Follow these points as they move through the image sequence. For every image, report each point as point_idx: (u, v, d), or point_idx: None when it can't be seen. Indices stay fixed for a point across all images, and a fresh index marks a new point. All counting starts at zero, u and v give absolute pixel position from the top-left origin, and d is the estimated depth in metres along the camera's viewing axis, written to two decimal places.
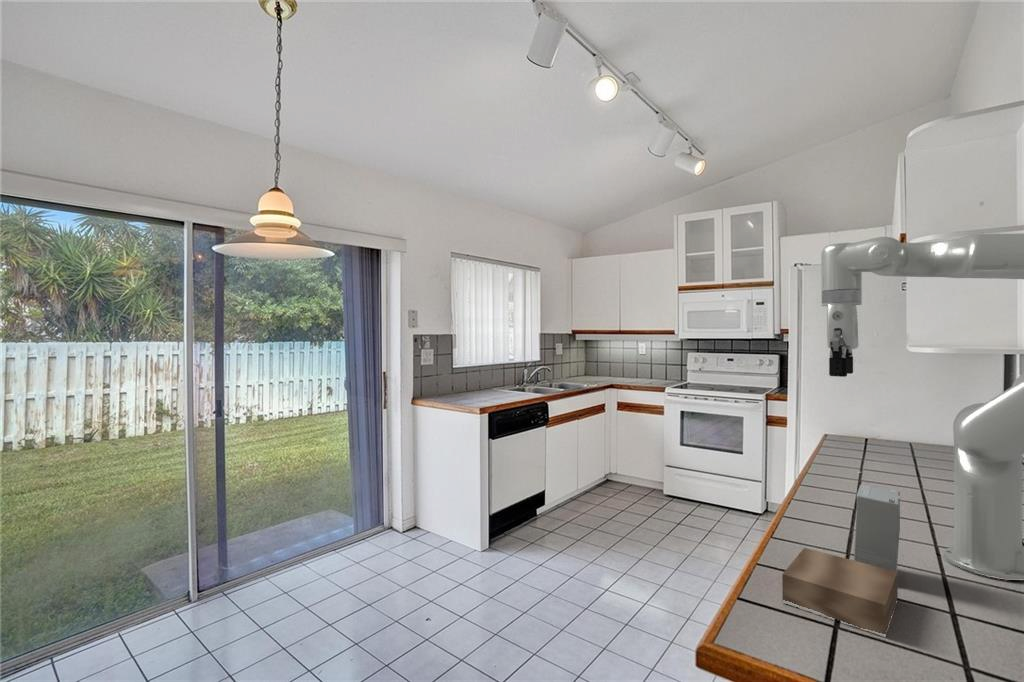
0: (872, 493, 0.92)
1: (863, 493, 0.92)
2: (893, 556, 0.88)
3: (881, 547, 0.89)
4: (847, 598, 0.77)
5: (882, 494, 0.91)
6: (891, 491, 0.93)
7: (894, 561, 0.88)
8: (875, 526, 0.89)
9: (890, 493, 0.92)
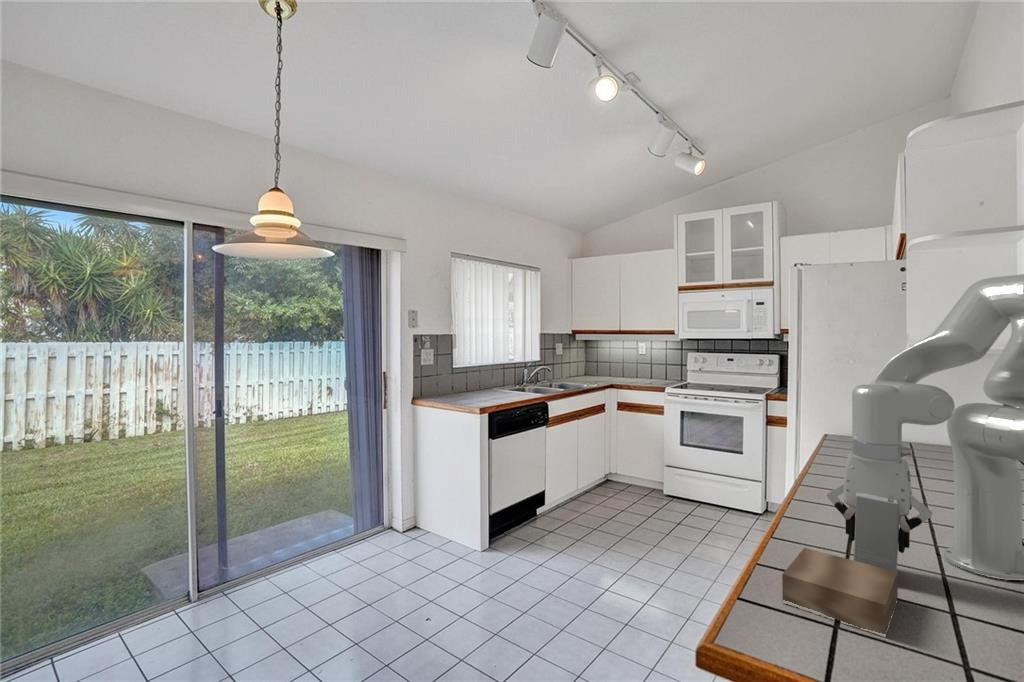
0: None
1: (862, 493, 0.92)
2: (893, 556, 0.88)
3: (881, 546, 0.89)
4: (847, 598, 0.77)
5: None
6: None
7: (894, 561, 0.88)
8: (874, 525, 0.89)
9: None
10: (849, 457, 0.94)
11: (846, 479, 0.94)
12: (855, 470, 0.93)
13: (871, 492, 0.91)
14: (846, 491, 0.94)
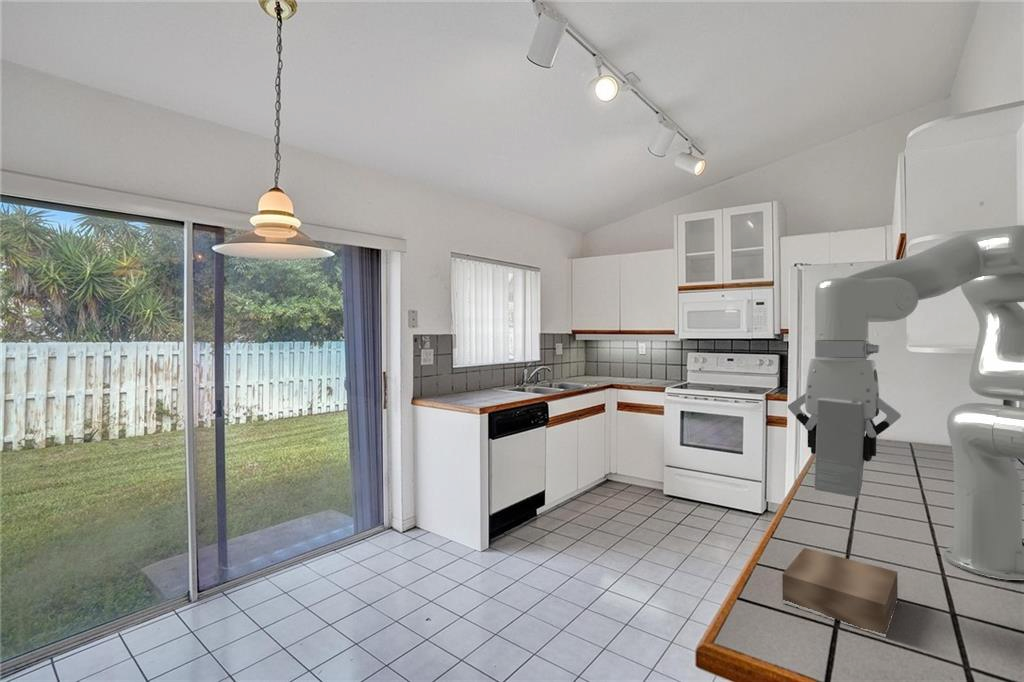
0: None
1: (824, 398, 0.83)
2: (857, 463, 0.79)
3: (843, 454, 0.80)
4: (847, 598, 0.77)
5: None
6: None
7: (858, 469, 0.79)
8: (837, 431, 0.80)
9: None
10: (811, 360, 0.85)
11: (808, 385, 0.85)
12: (818, 374, 0.84)
13: (834, 396, 0.82)
14: (808, 398, 0.85)
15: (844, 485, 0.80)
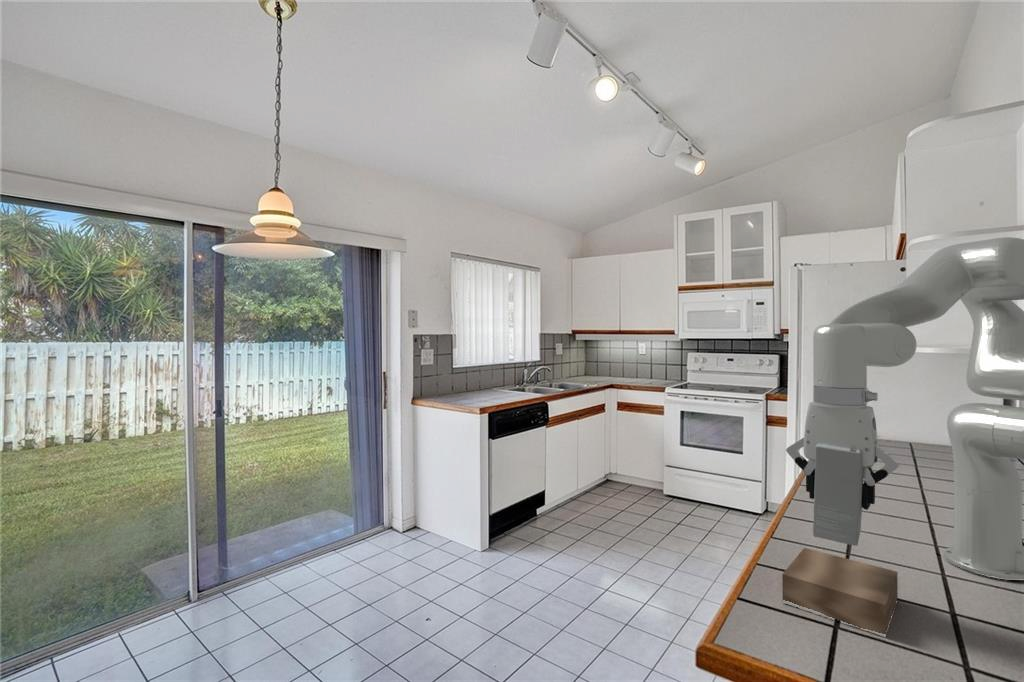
0: None
1: (822, 444, 0.83)
2: (855, 512, 0.78)
3: (842, 502, 0.79)
4: (847, 598, 0.77)
5: None
6: None
7: (856, 517, 0.78)
8: (835, 478, 0.80)
9: None
10: (810, 405, 0.84)
11: (806, 430, 0.85)
12: (816, 419, 0.83)
13: (832, 443, 0.82)
14: (806, 443, 0.85)
15: (843, 533, 0.80)
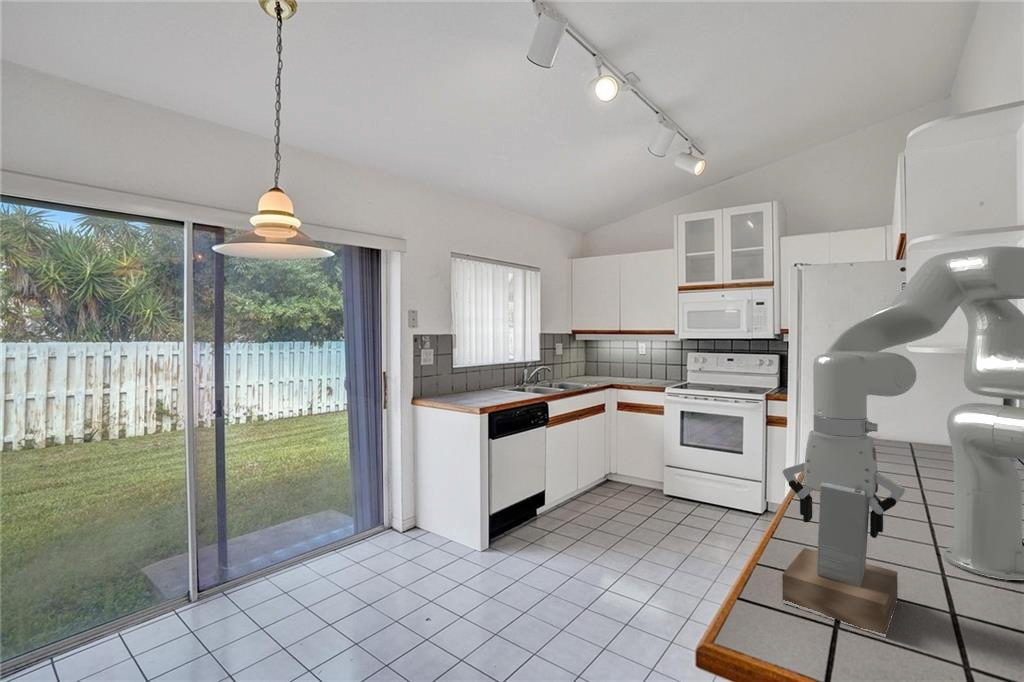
0: None
1: None
2: (859, 553, 0.78)
3: (846, 542, 0.79)
4: (847, 598, 0.77)
5: None
6: None
7: (860, 559, 0.78)
8: (840, 519, 0.80)
9: None
10: (810, 434, 0.85)
11: (806, 459, 0.85)
12: (816, 449, 0.83)
13: (833, 473, 0.82)
14: (806, 472, 0.85)
15: (847, 573, 0.79)
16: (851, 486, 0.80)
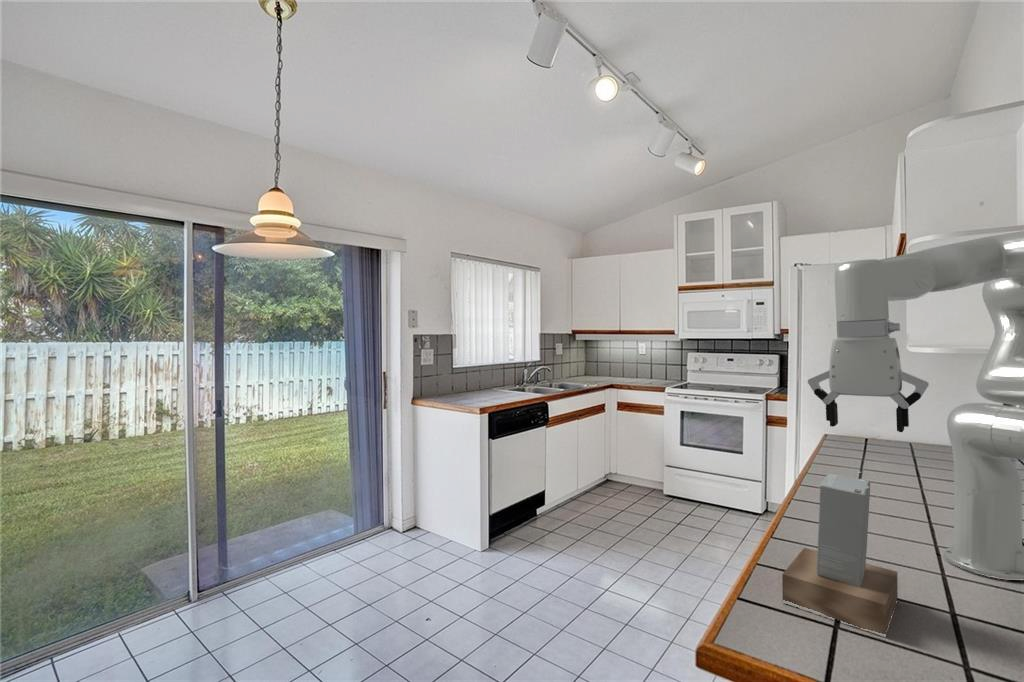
0: (837, 482, 0.82)
1: (827, 482, 0.82)
2: (859, 553, 0.78)
3: (846, 542, 0.79)
4: (847, 598, 0.77)
5: (849, 484, 0.82)
6: (860, 481, 0.83)
7: (860, 559, 0.78)
8: (839, 519, 0.80)
9: (858, 483, 0.82)
10: (834, 341, 0.88)
11: (831, 365, 0.88)
12: (841, 354, 0.86)
13: (858, 374, 0.85)
14: (832, 378, 0.88)
15: (847, 573, 0.79)
16: (876, 385, 0.83)
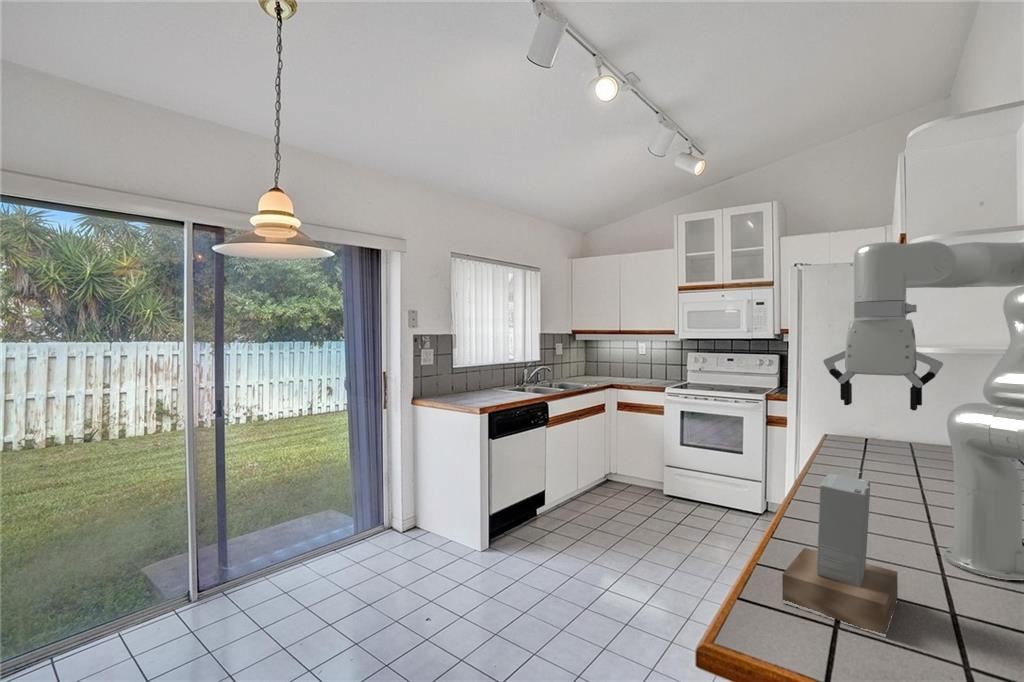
0: (837, 482, 0.82)
1: (827, 482, 0.82)
2: (859, 553, 0.78)
3: (846, 542, 0.79)
4: (847, 598, 0.77)
5: (849, 484, 0.82)
6: (860, 481, 0.83)
7: (860, 559, 0.78)
8: (839, 519, 0.80)
9: (858, 483, 0.82)
10: (851, 322, 0.90)
11: (848, 345, 0.90)
12: (857, 334, 0.89)
13: (873, 354, 0.87)
14: (848, 357, 0.90)
15: (847, 573, 0.79)
16: (891, 364, 0.86)
